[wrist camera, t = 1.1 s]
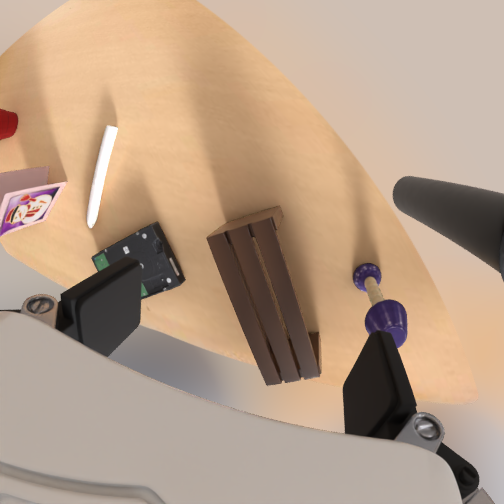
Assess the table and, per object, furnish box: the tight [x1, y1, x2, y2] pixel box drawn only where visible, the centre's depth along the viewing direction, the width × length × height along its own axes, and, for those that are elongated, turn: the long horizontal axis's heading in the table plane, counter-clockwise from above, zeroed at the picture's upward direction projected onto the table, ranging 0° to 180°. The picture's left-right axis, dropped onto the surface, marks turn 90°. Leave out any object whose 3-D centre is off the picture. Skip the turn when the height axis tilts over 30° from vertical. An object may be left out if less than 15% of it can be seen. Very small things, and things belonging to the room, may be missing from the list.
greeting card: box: [0, 166, 68, 236], centre depth 38 cm, size 11×7×15 cm, turn 130°
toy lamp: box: [353, 263, 407, 348], centre depth 31 cm, size 5×5×17 cm
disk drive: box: [92, 222, 186, 300], centre depth 44 cm, size 10×3×15 cm
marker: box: [87, 125, 118, 229], centre depth 41 cm, size 18×2×2 cm, turn 159°
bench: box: [207, 206, 321, 386], centre depth 38 cm, size 8×22×9 cm, turn 19°
